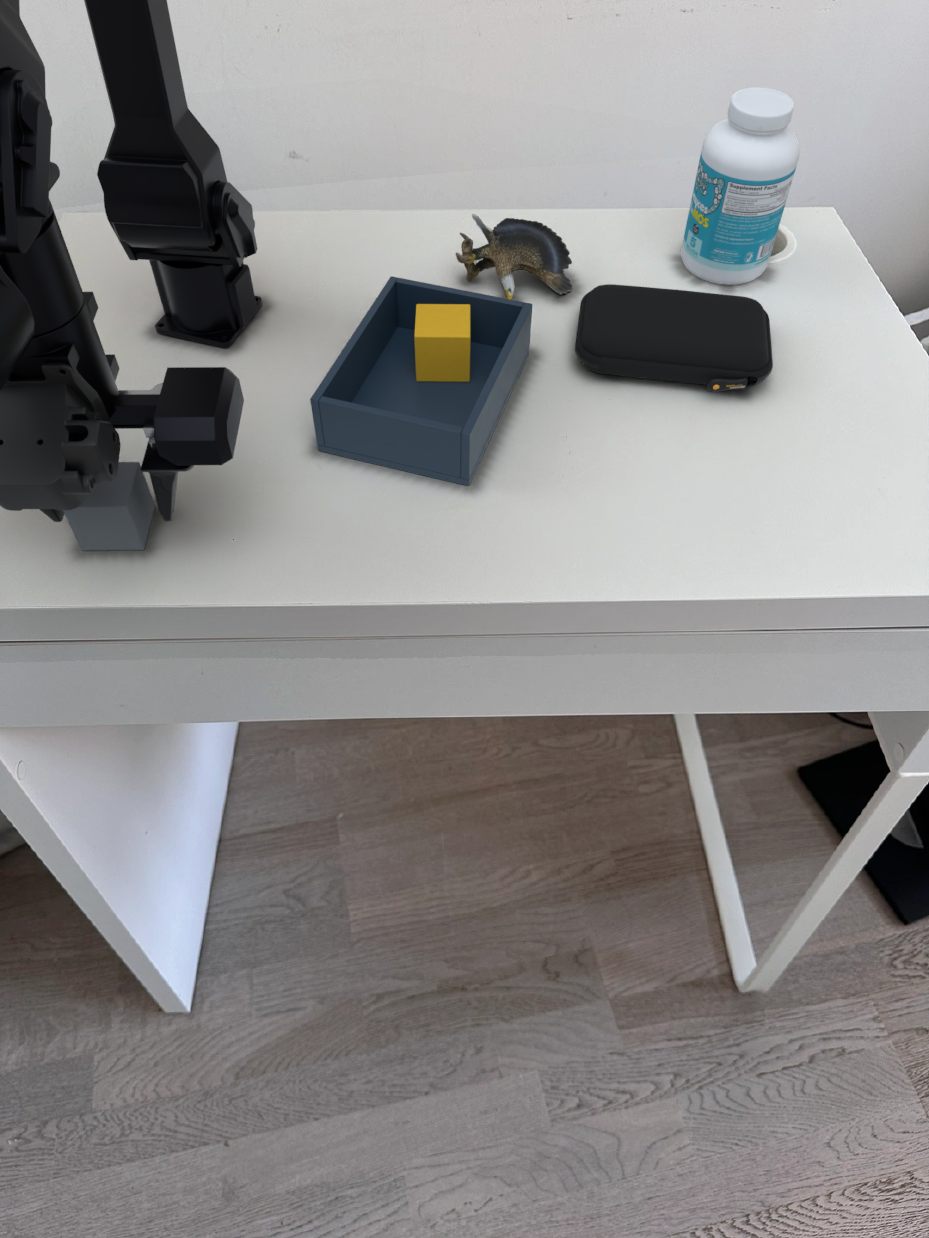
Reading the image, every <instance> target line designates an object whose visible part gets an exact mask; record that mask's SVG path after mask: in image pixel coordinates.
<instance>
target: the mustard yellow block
mask: <svg viewBox="0 0 929 1238" xmlns="http://www.w3.org/2000/svg"><path fill="white" fill-rule="evenodd" d="M414 339H415V363H416V381H417V382H469V381H470V304H416V317H415V335H414Z"/></svg>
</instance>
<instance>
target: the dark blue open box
mask: <svg viewBox="0 0 929 1238" xmlns="http://www.w3.org/2000/svg"><path fill="white" fill-rule="evenodd" d="M416 304H470V381H469V382H417V381H416V363H415V339H414V335H415V317H416ZM532 316H533V303H532V302H531V303H530V302H525V301H519V300H515V299H512V300H511V299H507V298H505V297H500V296H495V295H489V294H485V293H479V292H473V291H469V290H465V289H458V288H453V287H448V286H444V285H439V284H433V283H428V282H424V281H418V280H412V279H408V278H402V277H397V276H389V278H388V280H387V281H386V283H385V284H384V286H383V287H382V289H381V290H380V292H379V294H378V295H377V297H376V298H375V300H374V301H373V303H371V306H370V307H369V309H368V310H367V312H366V313H365V314H364V317H363V318H362V319H361V321H360V323H359V324H358V325H357V327H356V328H355V330H354V331H353V333H352V335H351V336H350V338H349V339H348V341H347V342H346V344H345V345H344V347H343V348H342V350H341V351H340V353H339V355H338V356H337V358H335V360H334V362H333V364H332V365H331V367H330V368H329V370H328V371H327V373H326V374H325V376H324V377H323V379H322V380H321V382H320V383H319V385H318V386H317V388H316V389H315V391H314V393H313V394H312V396H311V397H310V399H309V400H310V401H309V402H310V409H311V415H312V420H313V427H314V432H315V434H314V435H315V440H316V445H317V450H318V452H323V453H327V454H331V455H336V456H339V457H344V458H348V459H353V460H357V461H360V462H364V463H369V464H374V465H378V466H383V467H387V468H391V469H395V470H399V471H404V472H408V473H411V474H416V475H421V476H424V477H428V478H433V479H437V480H441V481H446V482H451V483H455V484H459V485H463V486H467V487H469V486H470V485H471V482H472V480H473V478H474V476H475V473H476V472H477V469H478V467H479V465H480V463H481V460H482V459H483V456H484V454H485V452H486V449H487V447H488V445H489V444H490V441H491V439H492V437H493V435H494V432H495V430H496V428H497V425H498V424H499V421H500V419H501V418H502V415H503V412H504V410H505V408H506V406H507V404H508V401H509V399H510V397H511V395H512V393H513V391H514V388H515V386H516V384H517V382H518V380H519V378H520V375H521V373H522V371H523V369H524V366H525V365H526V362H527V360H528V358H529V355H530V346H531V345H530V343H531V333H532V332H531V331H532Z"/></svg>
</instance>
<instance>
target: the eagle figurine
mask: <svg viewBox="0 0 929 1238" xmlns="http://www.w3.org/2000/svg"><path fill="white" fill-rule="evenodd" d="M471 218H472V219H473V221H474V222H475V224H476V226H477V227H478V228H479V229H480V230H481V232H482V234H483V235H484V237H485V239H486V240H487V243H486V244H484V245H482V246H479V247H476V248H475V247H474V240H473V239H471V237H469V236H468V235H467V234H465V233H463V232H459V235H460V236H461V238H463V240H462V242H461V244H460V245H461V254H460V253H459V252H455V257H456V260H457V261H458V263H460V264H463V266H464V268H465V269H466V276H465V277H466V280H467V282H470V281H473V280H474V278H476V277H477V276H478V275H479V274H480V273H481V272H482V271H484V270H488V269H491V268H494V270H495V274H496V275H497V277H498V279H499V281H500V283H501V284H502V286H503V289H504V292H505V294H506V299H511V300H513V296H514V294H515V280H514V272H517V271H522V272H526V273H528V274H529V275H532V276H534V277H535V278H537V279H539V280H540V281H542V282H543V283H544V284H545V285H547V286H548V287H549V288H550V289H551V290H553V291H554V292H555V293H556V294H557V295H559V296H562V295H563V294H564V295H566V294H568V293H571V292H572V291H573V288H574V285H573V284H572V283H571V282H572V281H571V279H570V278H568V277H567V276H566V274H565V273H564V270H568V269H569V267H570V265H572V264H573V261H572V259H571V257H570V256H569V255H570V250H569V249H568V248H567V244H566V243H565V242H564V241H563V237H561V235H558V233H557V232H555V231H554V230H553V229H552V228H551V227H548V225H546V224H543V222H539V221H537V220H530V219H529V220H527V219H524V218H521V219H520V218H514V217H505V218H503V220H501V221H499V223H497V224H496V225H495V226H494V227H493V229H492V228H490V227H489V226H488V225H487V224H485V223H484V222H483V220H482V218H480V216H479V215H477V214H475V213H472V214H471ZM473 247H474V248H473ZM475 261H477V262H476V263H475Z"/></svg>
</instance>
